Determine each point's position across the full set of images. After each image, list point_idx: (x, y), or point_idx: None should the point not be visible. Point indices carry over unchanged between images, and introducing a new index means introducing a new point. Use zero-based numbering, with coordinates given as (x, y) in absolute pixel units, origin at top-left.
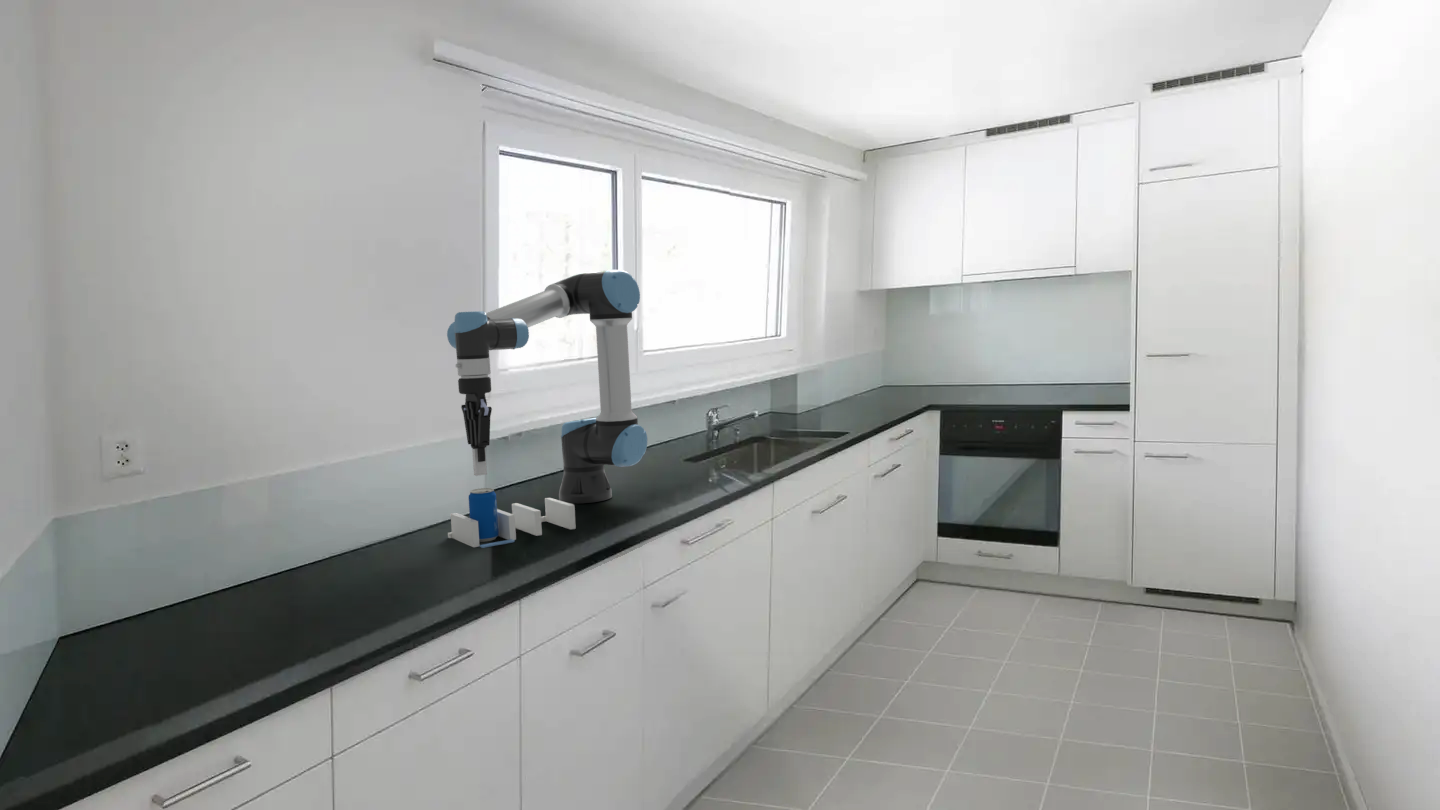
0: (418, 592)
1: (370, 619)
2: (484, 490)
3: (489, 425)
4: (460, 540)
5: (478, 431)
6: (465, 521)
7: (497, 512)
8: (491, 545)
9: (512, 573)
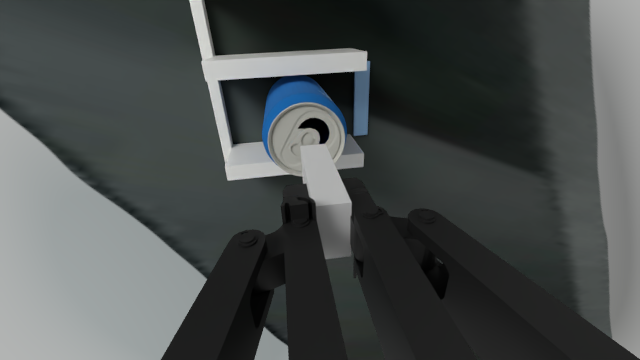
0: (510, 256)
1: None
2: (302, 131)
3: (584, 325)
4: None
5: (472, 341)
6: None
7: (290, 75)
8: (367, 115)
9: (552, 146)
